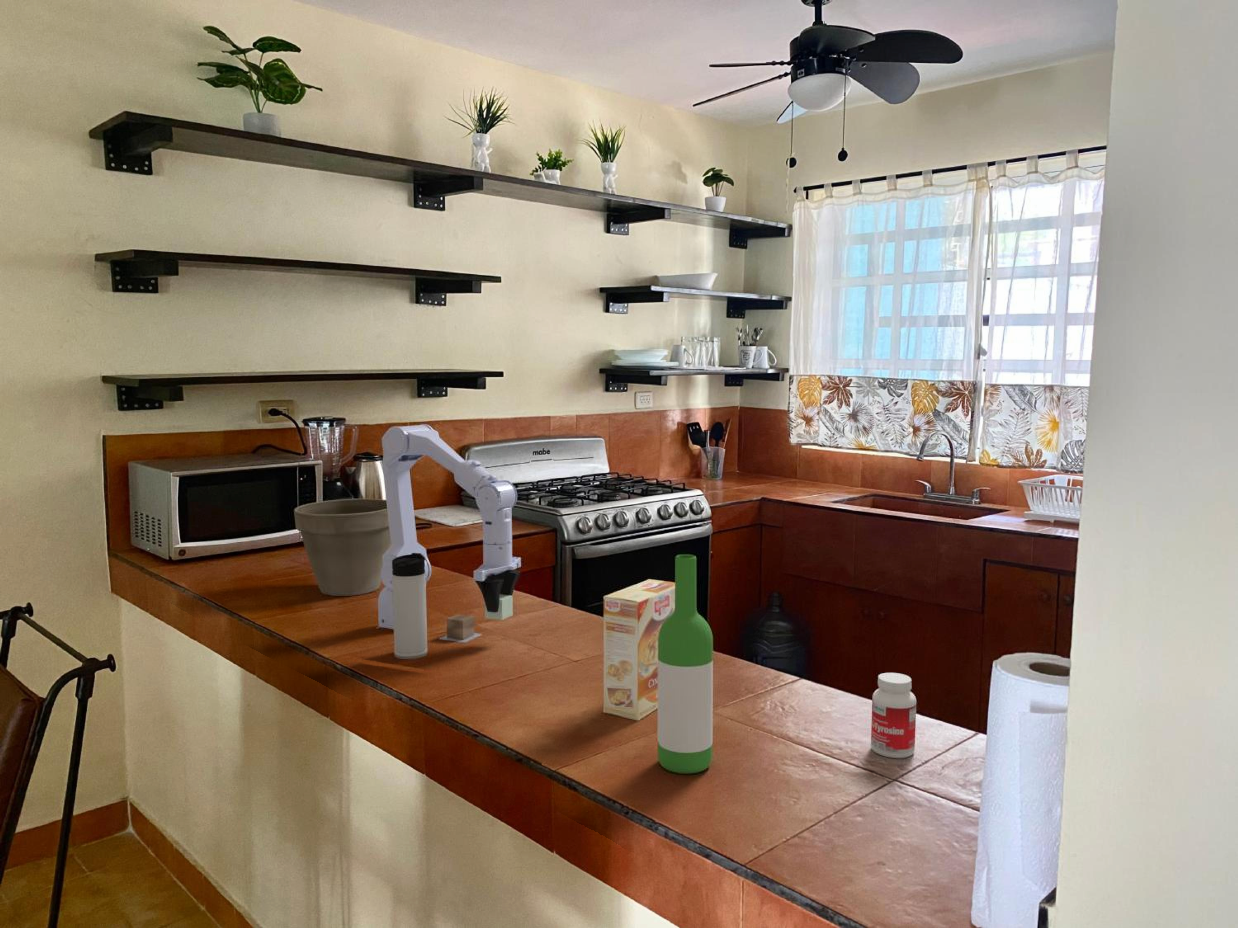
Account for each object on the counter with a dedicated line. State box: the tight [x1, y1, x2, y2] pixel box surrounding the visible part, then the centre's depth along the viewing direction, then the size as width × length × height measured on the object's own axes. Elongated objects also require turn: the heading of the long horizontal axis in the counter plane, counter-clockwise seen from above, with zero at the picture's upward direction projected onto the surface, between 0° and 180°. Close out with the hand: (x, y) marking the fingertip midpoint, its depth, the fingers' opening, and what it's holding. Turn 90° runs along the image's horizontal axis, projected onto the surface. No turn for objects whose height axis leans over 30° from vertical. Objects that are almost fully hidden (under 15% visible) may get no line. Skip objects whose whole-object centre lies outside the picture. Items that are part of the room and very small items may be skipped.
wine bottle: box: [657, 553, 714, 775], centre depth 131 cm, size 8×8×30 cm
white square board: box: [438, 632, 483, 644], centre depth 193 cm, size 12×12×1 cm
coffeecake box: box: [603, 578, 675, 721], centre depth 156 cm, size 15×7×20 cm, turn 148°
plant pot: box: [293, 498, 391, 597], centre depth 236 cm, size 25×25×22 cm
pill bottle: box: [870, 672, 917, 759], centre depth 136 cm, size 6×6×11 cm
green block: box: [484, 594, 514, 621], centre depth 188 cm, size 4×4×4 cm
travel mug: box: [392, 553, 428, 660], centre depth 181 cm, size 6×7×20 cm
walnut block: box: [446, 613, 475, 640], centre depth 193 cm, size 4×4×4 cm
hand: (498, 608), depth 188 cm, fingers closed on green block, 4 cm apart
